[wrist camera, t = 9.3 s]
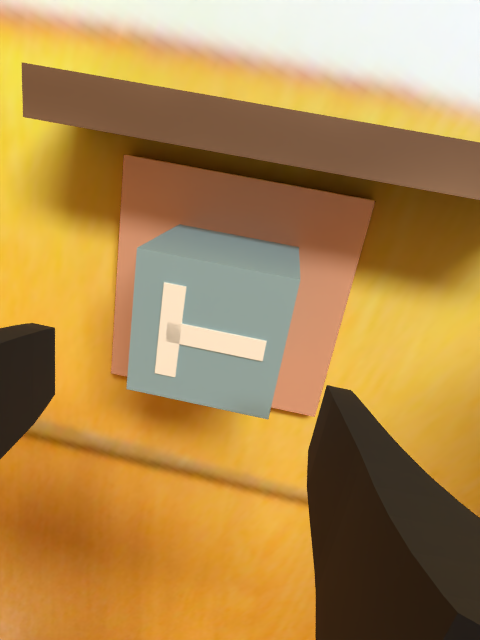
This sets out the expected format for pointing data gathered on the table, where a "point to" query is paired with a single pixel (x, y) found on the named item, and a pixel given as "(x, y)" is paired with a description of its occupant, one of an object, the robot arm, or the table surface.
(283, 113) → the walnut plank
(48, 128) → the table surface
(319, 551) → the robot arm
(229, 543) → the table surface
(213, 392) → the lettered cube
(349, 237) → the terracotta tile
